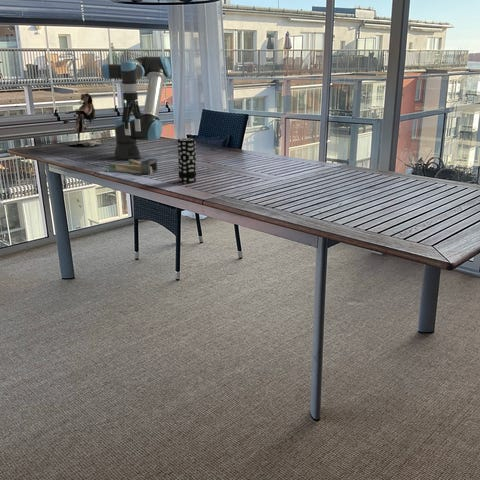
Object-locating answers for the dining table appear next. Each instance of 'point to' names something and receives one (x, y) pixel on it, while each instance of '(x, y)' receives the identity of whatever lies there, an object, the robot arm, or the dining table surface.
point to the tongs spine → (127, 168)
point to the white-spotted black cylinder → (187, 160)
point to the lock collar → (146, 164)
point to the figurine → (86, 113)
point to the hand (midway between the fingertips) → (133, 133)
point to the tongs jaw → (134, 162)
